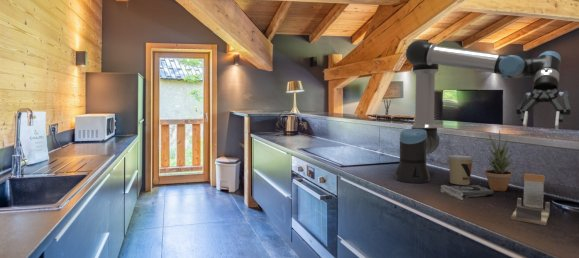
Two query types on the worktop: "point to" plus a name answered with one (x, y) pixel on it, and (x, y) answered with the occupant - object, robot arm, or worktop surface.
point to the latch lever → (533, 191)
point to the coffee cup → (460, 169)
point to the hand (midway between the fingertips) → (540, 127)
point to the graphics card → (465, 191)
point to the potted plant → (499, 168)
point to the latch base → (531, 214)
